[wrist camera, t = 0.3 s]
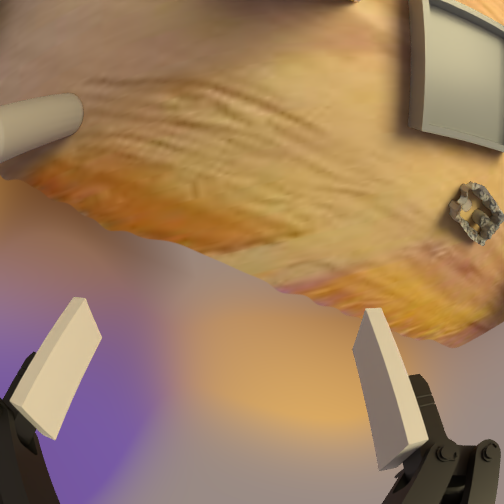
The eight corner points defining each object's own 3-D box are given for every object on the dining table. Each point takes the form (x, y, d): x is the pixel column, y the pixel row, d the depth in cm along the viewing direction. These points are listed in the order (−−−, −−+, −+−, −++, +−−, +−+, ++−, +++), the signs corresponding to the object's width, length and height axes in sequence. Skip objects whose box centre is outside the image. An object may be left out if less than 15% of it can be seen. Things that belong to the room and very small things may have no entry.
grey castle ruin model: (441, 208, 38) (454, 219, 35) (467, 172, 35) (482, 180, 31) (472, 242, 41) (484, 254, 37) (496, 210, 37) (509, 220, 34)
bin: (407, -7, 22) (420, -14, 19) (508, 39, 22) (523, 38, 18) (407, 126, 32) (421, 131, 29) (504, 150, 32) (519, 157, 28)
